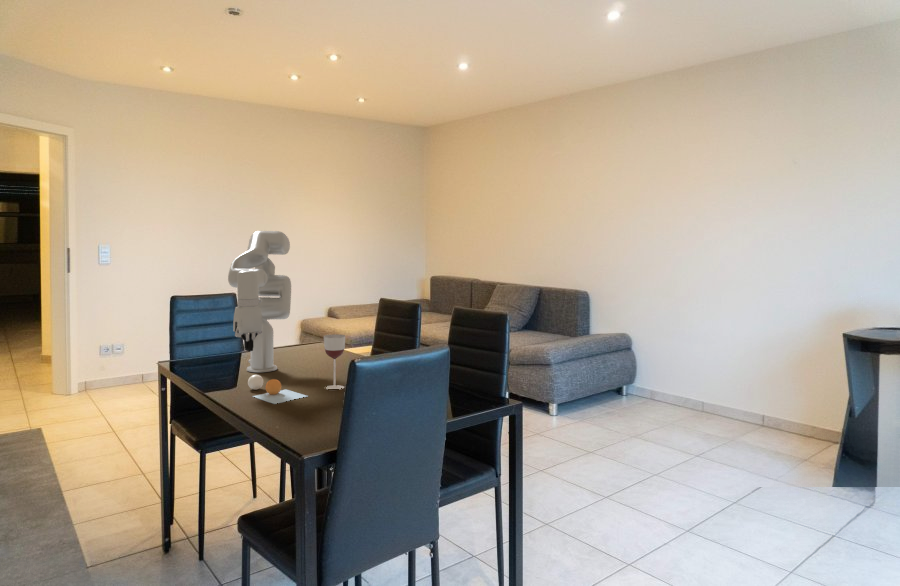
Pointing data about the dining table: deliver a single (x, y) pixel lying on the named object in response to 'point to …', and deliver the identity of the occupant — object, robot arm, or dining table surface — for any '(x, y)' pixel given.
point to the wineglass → (334, 352)
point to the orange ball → (273, 386)
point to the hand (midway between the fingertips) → (248, 350)
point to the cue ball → (255, 382)
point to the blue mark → (280, 396)
